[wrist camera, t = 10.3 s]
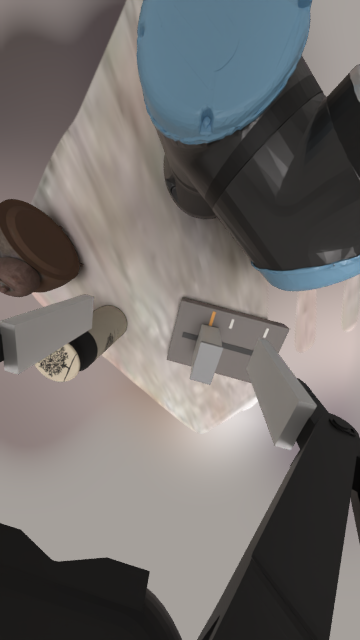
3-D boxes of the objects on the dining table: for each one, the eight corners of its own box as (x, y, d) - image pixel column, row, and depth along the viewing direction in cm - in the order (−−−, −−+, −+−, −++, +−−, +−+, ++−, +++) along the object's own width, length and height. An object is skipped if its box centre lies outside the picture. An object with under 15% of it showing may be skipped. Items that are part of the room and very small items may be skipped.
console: (168, 353, 46) (166, 359, 43) (182, 297, 41) (181, 300, 38) (259, 378, 45) (263, 386, 42) (283, 323, 40) (290, 329, 37)
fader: (192, 353, 41) (189, 379, 32) (201, 323, 39) (201, 342, 30) (209, 358, 41) (210, 384, 32) (219, 328, 38) (223, 348, 30)
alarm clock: (33, 226, 40) (-119, 198, 21) (59, 209, 39) (-81, 163, 20) (70, 289, 44) (-32, 314, 25) (95, 277, 42) (7, 293, 23)
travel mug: (89, 323, 46) (21, 362, 29) (105, 298, 43) (42, 324, 26) (116, 343, 47) (65, 392, 30) (133, 320, 44) (89, 359, 27)
